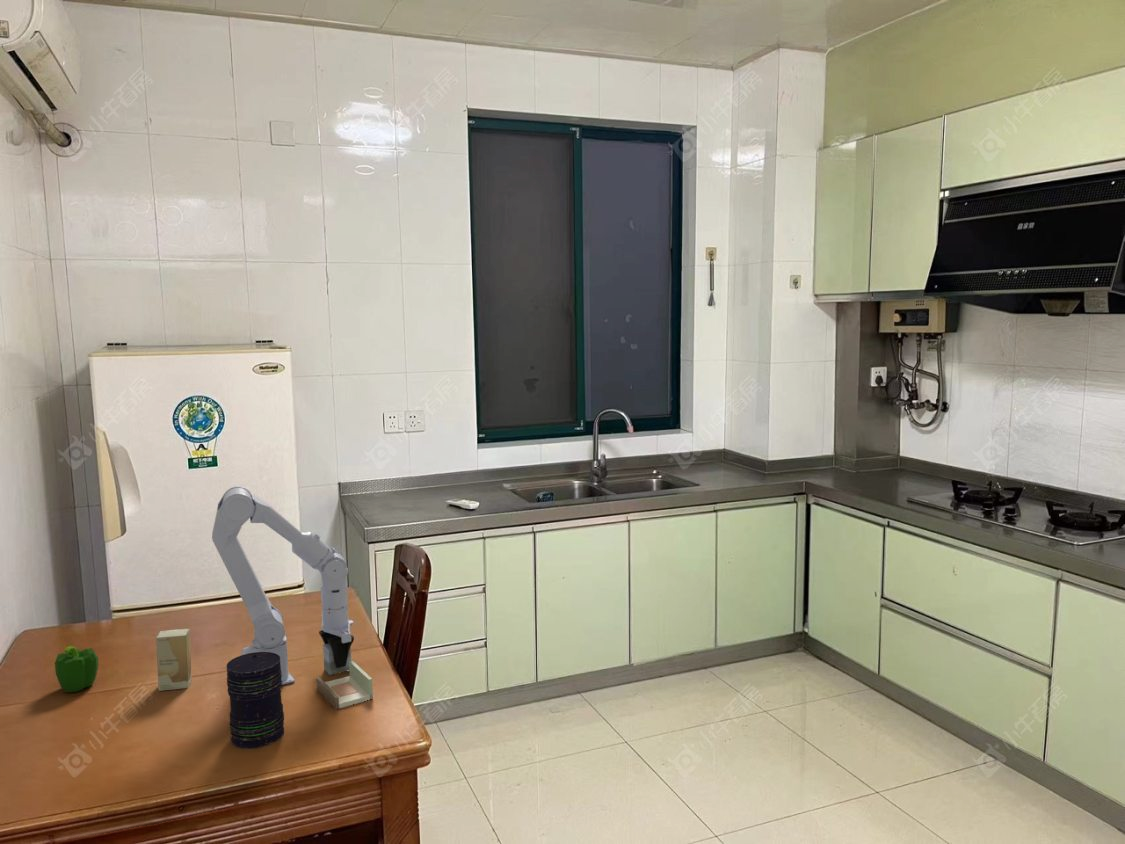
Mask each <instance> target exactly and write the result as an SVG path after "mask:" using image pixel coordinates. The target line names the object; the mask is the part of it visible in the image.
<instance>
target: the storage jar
mask: <svg viewBox="0 0 1125 844" xmlns="http://www.w3.org/2000/svg"><path fill="white" fill-rule="evenodd" d="M281 677H282V672H281V665H280V656H279V655H278V654H275V653H271V652H255V653H249V654H245V655H238V656H236V657H234V658H232V659H230V660H229V661H228V662H227V663H226V685H227V694H228V696H229V704H230V712H229V729H230V735H231V737H230V739H231V740H230V742H231V744H232V745H233V746H234V747H236V748H238V749H242V750H243V749H245V750H250V749H251V750H254V749H259V748H264V747H268V746H270V745H273V744H274V743H276V742H278V741H280V740H281V739H282V738H283V736H285V735H284V734H285V727H284V725H285V722H284V721H285V712H284V706H283V705H284V704H283V703H282V689H281V688H282V687H283V685H282V680H281Z"/></svg>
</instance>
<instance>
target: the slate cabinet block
mask: <svg viewBox="0 0 1125 844" xmlns="http://www.w3.org/2000/svg"><path fill="white" fill-rule="evenodd" d="M322 649H323V670H324V669H325V670H324V671H325V672H326V673H327V674H328V675H329V676H330V675H331V676H333V675H332V674H335V675H337V674H336V673H339V672H343V671H347V670H349V661H351V660H352V651H351V650H352V649H351V647H350V649H349V653H348V658H347V663H346V666H344V667H340V668H337V667H336V665H335V662H334V656H333V652H332V649H331V646H330V644H323V645H322ZM347 672H348V671H347ZM343 673H344V672H343ZM339 674H340V673H339Z"/></svg>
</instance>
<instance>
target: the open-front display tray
mask: <svg viewBox="0 0 1125 844" xmlns="http://www.w3.org/2000/svg"><path fill="white" fill-rule="evenodd" d="M348 672H349V675H347V676H345V677H341V678H337V679H333V680H329V681H324V679H322V678H321V676H318V677H316V687H317V690H318V691H319V692H320V693H321V695H322V696H323V697H324V698H325V699H326V700H327V701H328V703H329V704H330V705H331V707H333V708H334V709H335V710H339V709H342V708H347V707H350V706H353V704H354V705H357V704H361V703H364V701H365V702H367V700H368V701H371V700H370V699H372V700H374V695H373V694H374V691H373V678H372V677H371V676H370V675H369V674H367V672H365V671H364V670H363V669H362V668H361V666H359V665H358V664H357V663H356V662H355V661H354V660H353V659H351V661H349V671H348Z"/></svg>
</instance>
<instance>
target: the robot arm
mask: <svg viewBox="0 0 1125 844" xmlns="http://www.w3.org/2000/svg"><path fill="white" fill-rule="evenodd" d="M249 520H250V524H264V525H266V526H267V527H269V528H270V529H271V530H273V531H274V532H275V533H276V534H278V535H279V536H281V537H282V538H284V540H287V542H289V543H290V544H291V552H292V553H293V554H294V555H296V556H297V557H298V558H299V559H301V560H302V561H303V562H304V563H306V564H307V565H308V566H309V567H310V568H313V570H318V571H319V572H320V576H321V587H320V593H321V594H320V595H321V596H320V597H321V599H320V600H321V619H320V620H321V630H319V631H318V634H319V635H320V638H321V639H322V641H323V643H324V644H330V646H331V649H332V652H333V656H334V662H335V665H336V667H337V668H340V667H344V666H346V663H347V658H348V653H349V649H350V648H351V646H352V645H353V642H354V641H355V637H354V635H353V634H352V633H351V632H350V629H351V626H354V625H355V622H354V621H353V620H352V619H349V604H348V602H349V601H348V600H349V599H348V585H347V576H348V574H349V568H348V564H347V562H346V560H345V559H344V557H343V556H342V555H341V554H340V552H339V551H337V550H336V548H334V547H330V546H328V545H327V544H326V543H325V542H324V541H323V540H321V536H320V534H318V533H317V532H315V533H312V532H311V531H301V530H299V529H298V528H297V527H296V526H295V525H293V524H292V523H291V521H289V520H288V519H286V518H285V517H284V516H283V515H282V514H281V513H279V512H278V511H277V510H276V509H275V508H274V507H273V506H272V505H270V504H269V503H268V502H266V500H264V499H262V498H260V497H259V496H258V495H256V494H253V495H252V493H251V491H250V490H249V489H248V488H246V487H243V486H232V487H230V488H228V489H227V490H226V491H225V492H224V494H223V495H222V497H221V498H220V500H219V502H218V503H217V508H216V513H215V518H214V521H213V522H214V523H213V528H212V534H211V539H212V542H213V544H214V546H215V549H216V550H217V552H218V554H219V556H220V558H221V560H222V563H223V564H224V566H225V568H226V570H227V572H228V574H229V576H230V578H231V580H232V582H233V584H234V586H235V588H236V590H237V592H238V594H239V595H240V599H241V600H242V602H243V603H244V606H245V608H246V610H247V613H248V615H249V618H250V621H251V623H252V625H253V627H254V628H253V630H254V632H253V633H254V634H253V635H254V639H252V642H251V643H252V644H250V645H248V646H246V647H243V648H241V653H240V654H241V655H245V654H249V653H255V652H271V653H275V654H278V655H279V656H280V665H281V672H282V677H281V680H282V686H283V685H288V684H291V683H294V682H295V678H294V677H293V676H292V674H291V673H290V672H289V660H288V659H289V657H288V655H289V654H288V640H287V636H286V628H285V626H284V622H283V620H284V618H283V615H282V613H281V611H280V609H277V608H276V607H275V606H273V604H272V602H271V601H270V599H269V597H268V596H267V595H266V593H265V590H264V589H263V586H262V584H261V582H260V580H259V579H258V577H257V576H258V575H256V572H255V570H254V568H253V566H252V565H251V562H250V560H249V558H248V556H247V554H246V552H245V551H244V548H243V546H242V544H241V542H240V540H239V538H238V535H239V533H240V531H241V529H242V527H243V525H244V524H246V522H247V521H249ZM324 644H323V645H324ZM241 655H240V656H241Z"/></svg>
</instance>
